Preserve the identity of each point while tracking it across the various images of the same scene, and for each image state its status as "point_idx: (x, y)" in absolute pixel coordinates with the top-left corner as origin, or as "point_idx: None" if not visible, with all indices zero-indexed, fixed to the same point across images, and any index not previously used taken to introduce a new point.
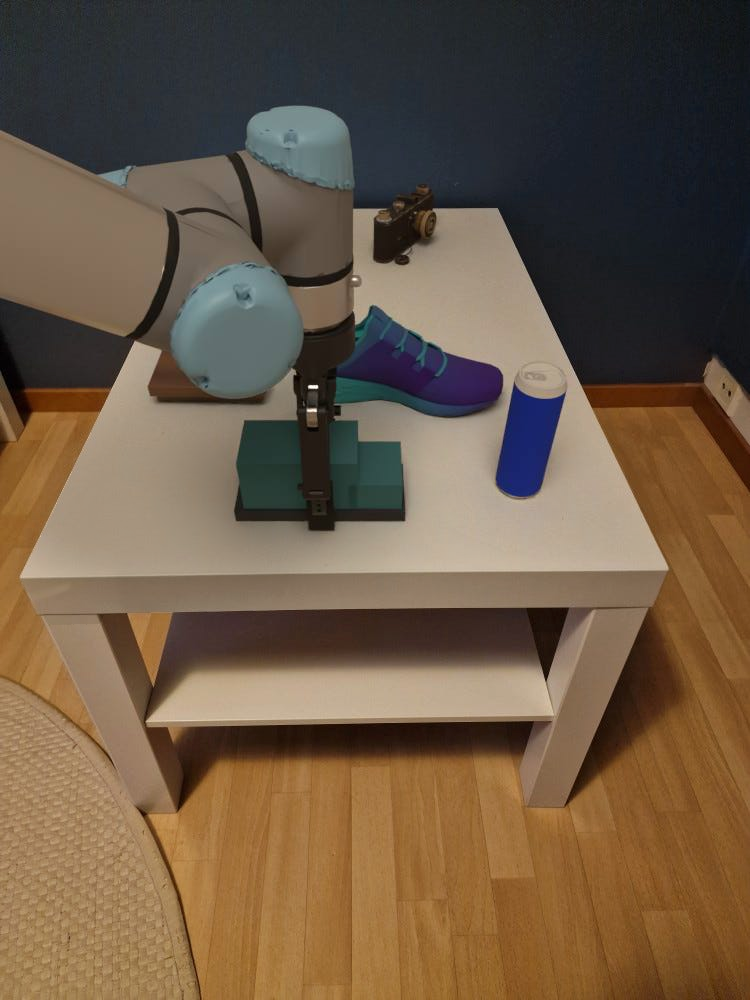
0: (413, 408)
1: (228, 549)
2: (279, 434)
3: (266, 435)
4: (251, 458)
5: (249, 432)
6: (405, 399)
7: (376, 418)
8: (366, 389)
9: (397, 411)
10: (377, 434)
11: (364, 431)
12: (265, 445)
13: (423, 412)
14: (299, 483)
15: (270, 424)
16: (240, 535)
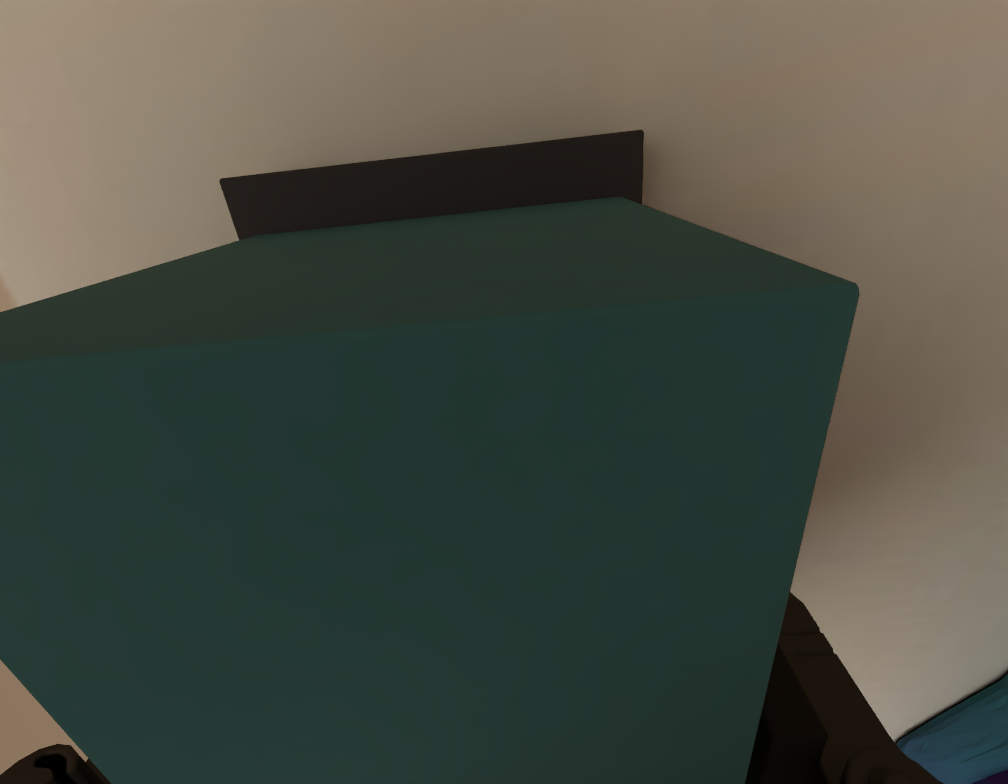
0: (946, 712)
1: (78, 184)
2: (503, 723)
3: (470, 627)
4: None
5: (505, 436)
6: (995, 729)
7: (928, 625)
8: None
9: (948, 675)
10: (829, 632)
11: (858, 597)
12: (287, 641)
13: (913, 733)
14: (74, 776)
15: (685, 639)
16: (183, 223)
